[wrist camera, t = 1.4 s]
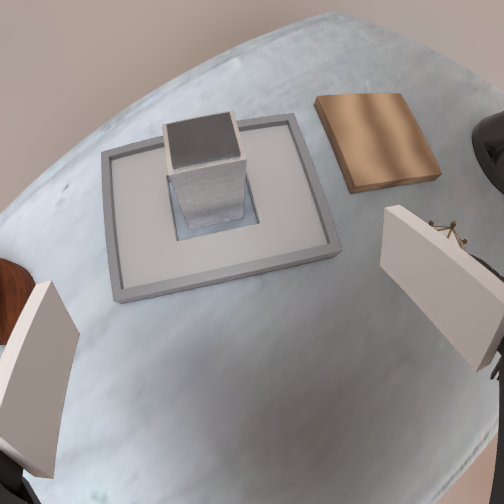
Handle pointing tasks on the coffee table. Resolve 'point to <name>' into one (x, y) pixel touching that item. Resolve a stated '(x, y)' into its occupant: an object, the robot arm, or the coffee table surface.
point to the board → (376, 141)
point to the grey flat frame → (220, 243)
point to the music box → (12, 296)
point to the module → (207, 168)
